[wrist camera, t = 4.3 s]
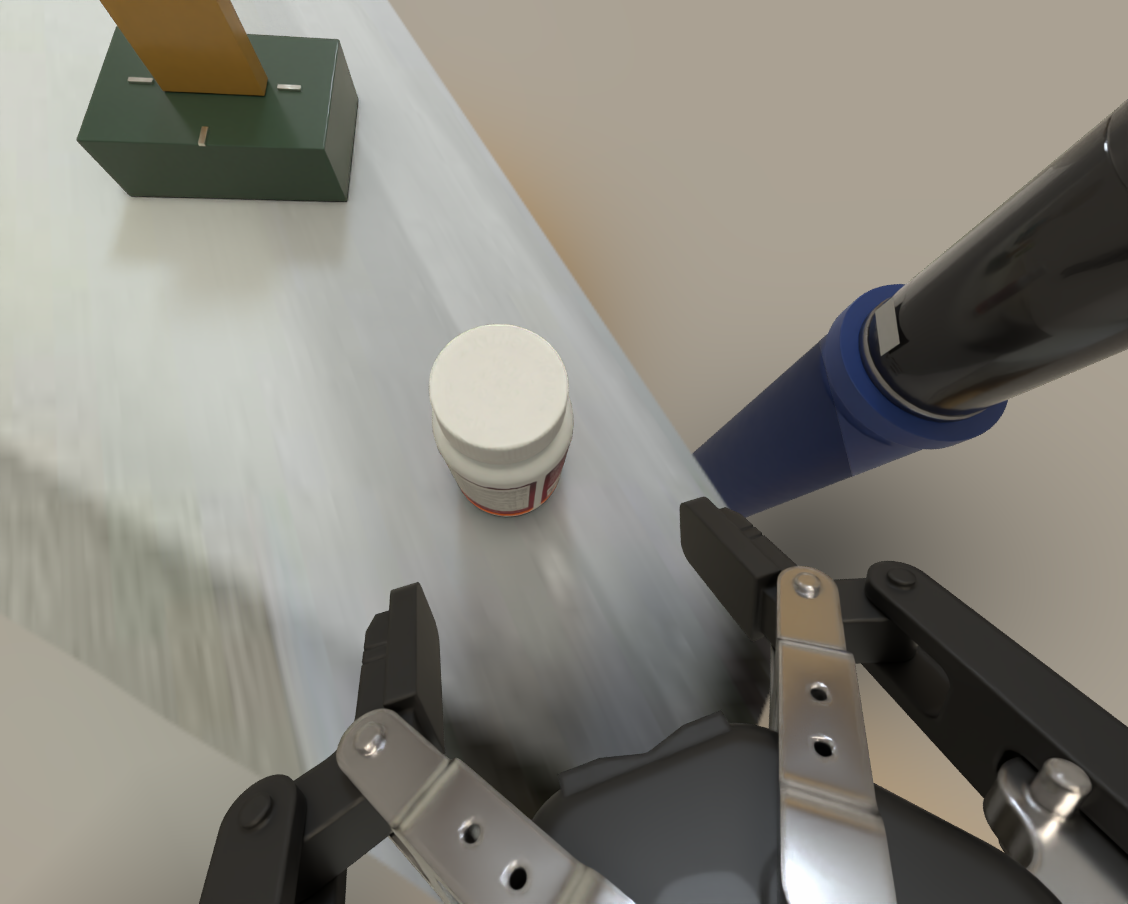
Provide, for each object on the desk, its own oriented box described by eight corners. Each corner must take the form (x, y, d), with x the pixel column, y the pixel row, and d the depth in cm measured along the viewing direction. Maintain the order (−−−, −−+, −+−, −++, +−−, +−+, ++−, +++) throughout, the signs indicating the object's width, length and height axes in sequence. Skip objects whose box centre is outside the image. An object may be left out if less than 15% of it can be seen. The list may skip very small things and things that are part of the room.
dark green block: (358, 97, 36) (338, 35, 32) (347, 203, 33) (322, 148, 29) (160, 88, 34) (114, 21, 30) (129, 197, 31) (72, 138, 27)
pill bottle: (529, 403, 29) (533, 286, 18) (579, 487, 28) (615, 414, 17) (437, 447, 28) (385, 349, 17) (485, 538, 26) (460, 494, 16)
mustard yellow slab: (268, 78, 30) (212, -37, 25) (264, 96, 30) (207, -18, 24) (168, 73, 30) (88, -46, 24) (162, 91, 29) (80, -26, 24)
